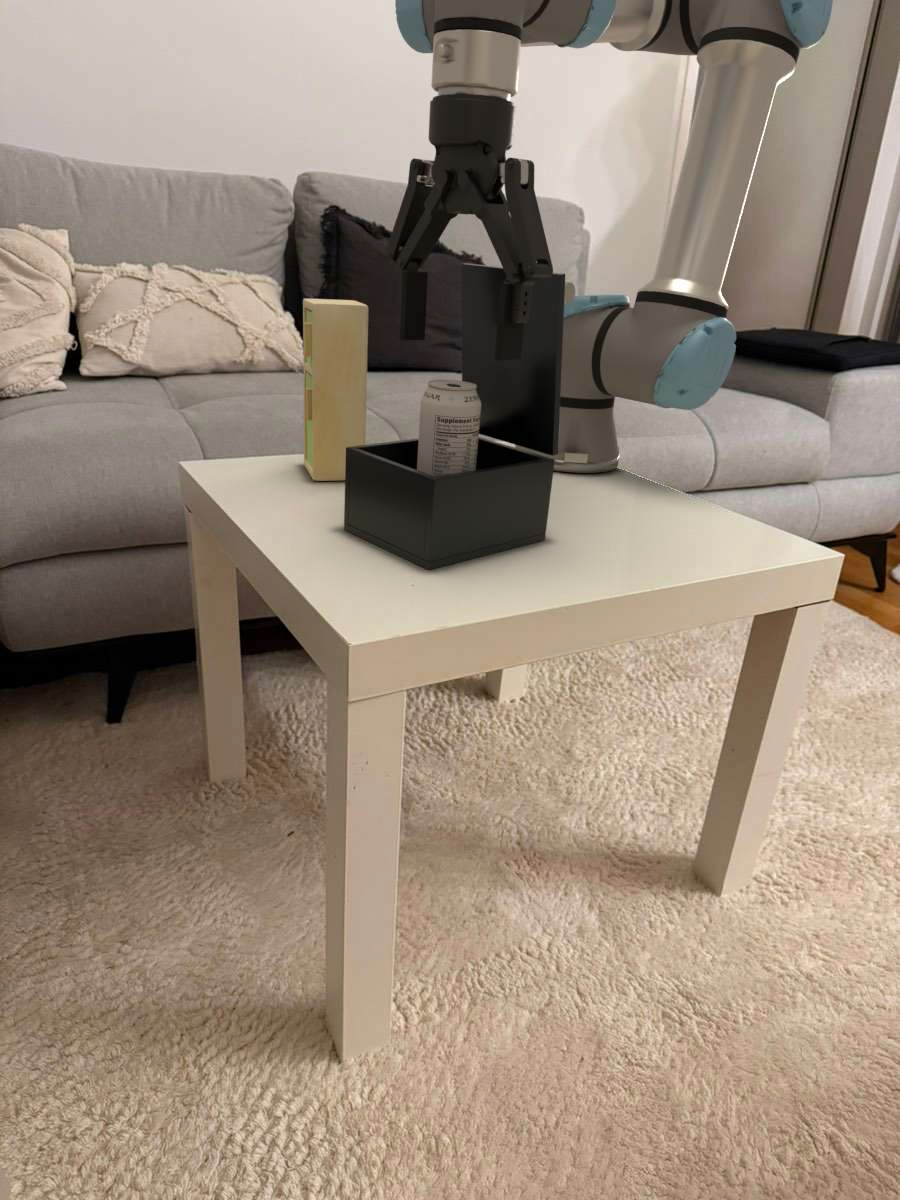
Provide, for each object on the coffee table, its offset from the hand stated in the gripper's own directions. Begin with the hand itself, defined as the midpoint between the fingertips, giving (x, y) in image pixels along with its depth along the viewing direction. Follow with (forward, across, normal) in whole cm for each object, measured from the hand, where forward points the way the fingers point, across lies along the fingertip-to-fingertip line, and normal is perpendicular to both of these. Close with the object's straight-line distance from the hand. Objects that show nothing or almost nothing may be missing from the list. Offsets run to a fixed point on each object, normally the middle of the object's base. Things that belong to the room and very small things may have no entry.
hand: (457, 349), depth 83 cm
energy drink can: (+18, 0, -1) cm, 18 cm away
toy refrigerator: (+19, -26, +4) cm, 33 cm away
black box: (+19, 0, 0) cm, 19 cm away
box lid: (+1, 0, +7) cm, 7 cm away
